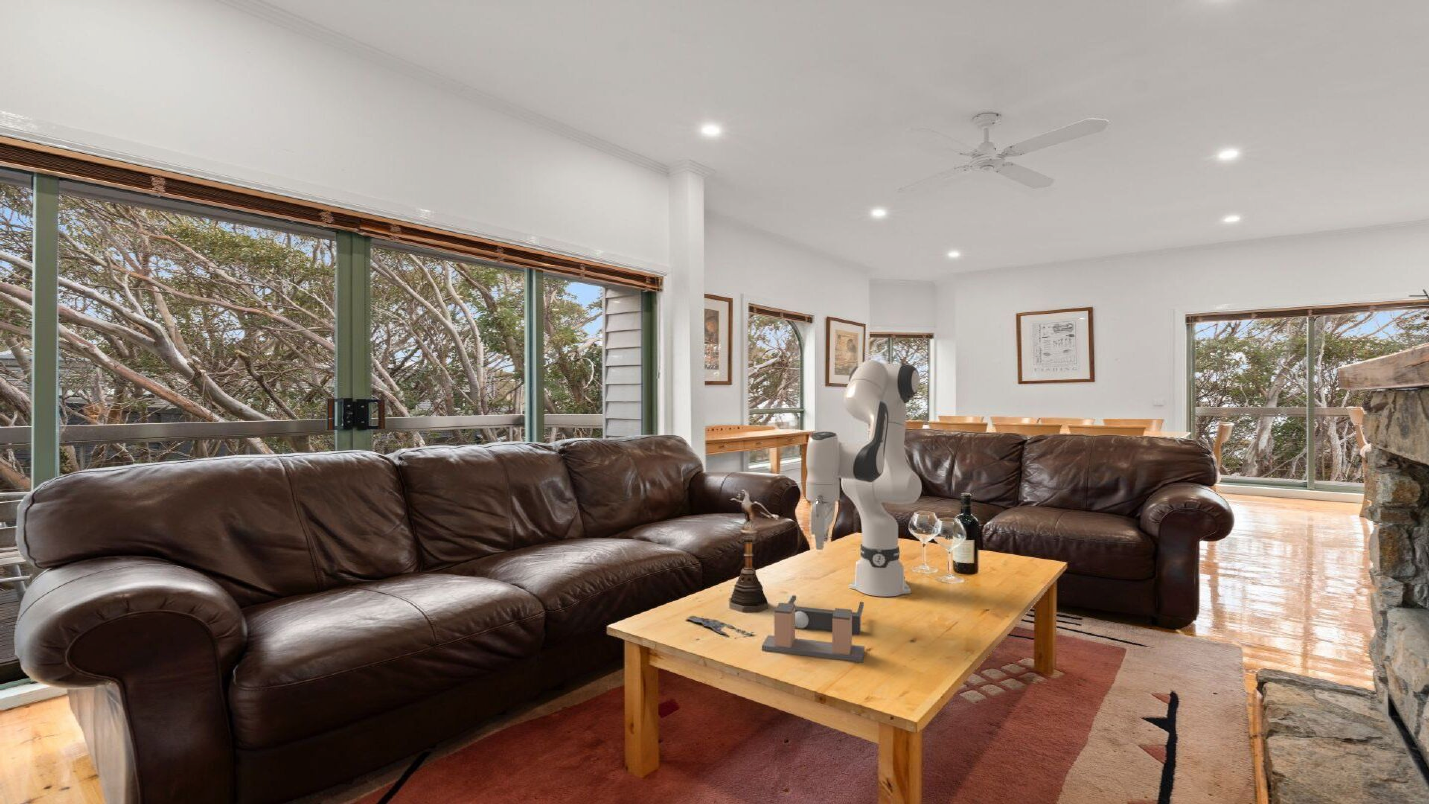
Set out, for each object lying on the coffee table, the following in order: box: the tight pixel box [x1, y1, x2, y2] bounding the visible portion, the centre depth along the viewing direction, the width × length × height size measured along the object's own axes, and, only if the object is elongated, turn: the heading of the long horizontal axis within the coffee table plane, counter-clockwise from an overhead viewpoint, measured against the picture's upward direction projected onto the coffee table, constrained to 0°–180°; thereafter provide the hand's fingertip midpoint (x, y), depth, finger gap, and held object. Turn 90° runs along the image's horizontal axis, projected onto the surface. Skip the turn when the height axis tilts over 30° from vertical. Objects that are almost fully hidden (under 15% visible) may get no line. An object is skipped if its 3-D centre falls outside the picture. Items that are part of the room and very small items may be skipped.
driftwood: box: [685, 615, 755, 640], centre depth 176 cm, size 21×7×2 cm, turn 42°
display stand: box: [761, 602, 866, 663], centre depth 160 cm, size 7×24×10 cm, turn 73°
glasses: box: [787, 594, 865, 636], centre depth 179 cm, size 14×20×5 cm
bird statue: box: [728, 481, 780, 613], centre depth 195 cm, size 17×13×35 cm
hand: (822, 545), depth 174 cm, fingers open, 8 cm apart
